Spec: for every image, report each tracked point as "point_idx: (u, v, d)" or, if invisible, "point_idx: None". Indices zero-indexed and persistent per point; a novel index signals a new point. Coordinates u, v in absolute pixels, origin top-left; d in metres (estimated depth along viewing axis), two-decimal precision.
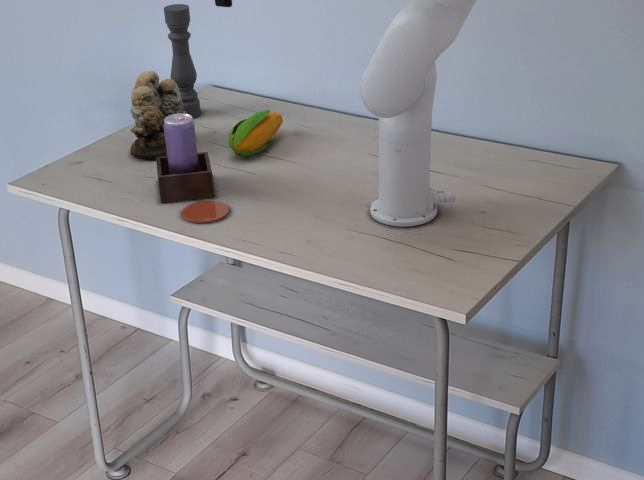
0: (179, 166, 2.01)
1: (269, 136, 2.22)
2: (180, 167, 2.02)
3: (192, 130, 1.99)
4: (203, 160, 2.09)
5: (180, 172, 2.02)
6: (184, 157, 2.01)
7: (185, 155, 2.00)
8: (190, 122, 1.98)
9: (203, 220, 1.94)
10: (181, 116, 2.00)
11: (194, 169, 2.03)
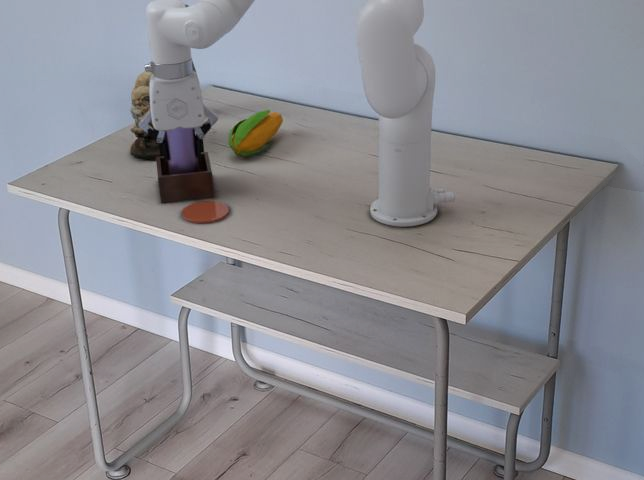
0: (179, 166, 2.01)
1: (269, 136, 2.22)
2: (180, 167, 2.02)
3: (192, 130, 1.99)
4: (203, 160, 2.09)
5: (180, 172, 2.02)
6: (184, 157, 2.01)
7: (185, 155, 2.00)
8: None
9: (203, 220, 1.94)
10: None
11: (194, 169, 2.03)
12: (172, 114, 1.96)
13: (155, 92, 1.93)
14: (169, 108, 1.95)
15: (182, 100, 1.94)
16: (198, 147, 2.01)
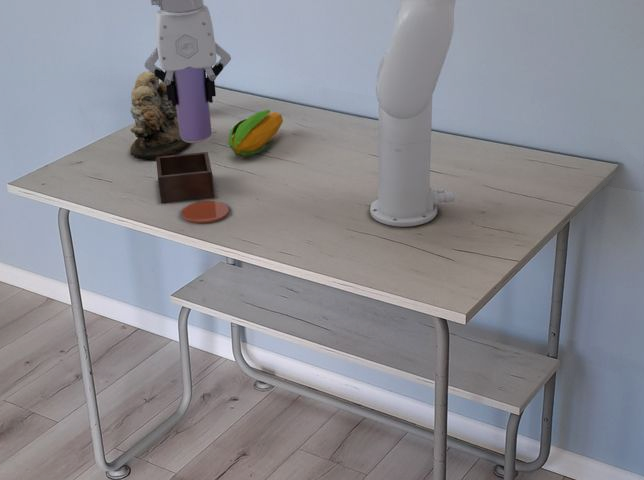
0: (188, 110, 1.85)
1: (269, 136, 2.22)
2: (190, 112, 1.85)
3: (202, 71, 1.82)
4: (203, 160, 2.09)
5: (189, 117, 1.86)
6: (193, 101, 1.84)
7: (194, 98, 1.84)
8: None
9: (203, 220, 1.94)
10: None
11: (204, 114, 1.86)
12: (181, 52, 1.79)
13: (162, 27, 1.77)
14: (178, 45, 1.78)
15: (192, 36, 1.78)
16: (209, 90, 1.85)
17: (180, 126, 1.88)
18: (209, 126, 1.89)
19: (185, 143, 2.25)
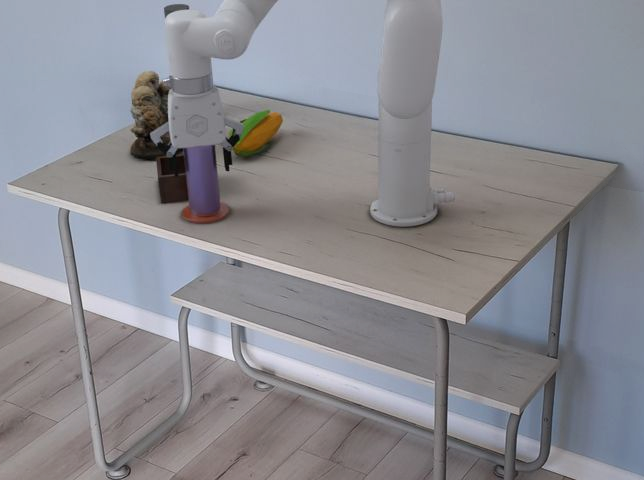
0: (199, 186, 1.92)
1: (269, 136, 2.22)
2: (200, 188, 1.92)
3: (212, 149, 1.89)
4: None
5: (200, 193, 1.92)
6: (204, 177, 1.91)
7: (205, 175, 1.90)
8: None
9: (203, 220, 1.94)
10: None
11: (214, 190, 1.93)
12: (192, 131, 1.86)
13: (174, 108, 1.83)
14: (189, 124, 1.85)
15: (203, 116, 1.84)
16: (226, 160, 1.91)
17: (190, 200, 1.94)
18: (218, 200, 1.95)
19: None
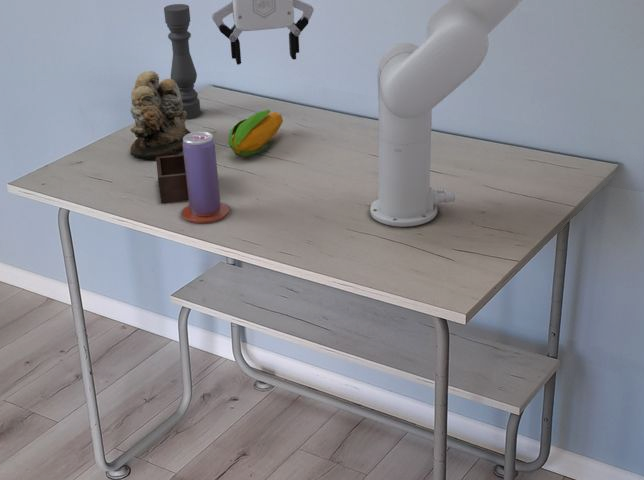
0: (199, 186, 1.92)
1: (269, 136, 2.22)
2: (200, 188, 1.92)
3: (212, 149, 1.89)
4: None
5: (200, 193, 1.92)
6: (204, 177, 1.91)
7: (205, 175, 1.90)
8: (210, 141, 1.88)
9: (203, 220, 1.94)
10: (201, 134, 1.90)
11: (214, 190, 1.93)
12: (258, 11, 1.71)
13: None
14: (255, 3, 1.70)
15: None
16: (293, 46, 1.76)
17: (190, 200, 1.94)
18: (218, 200, 1.95)
19: None
